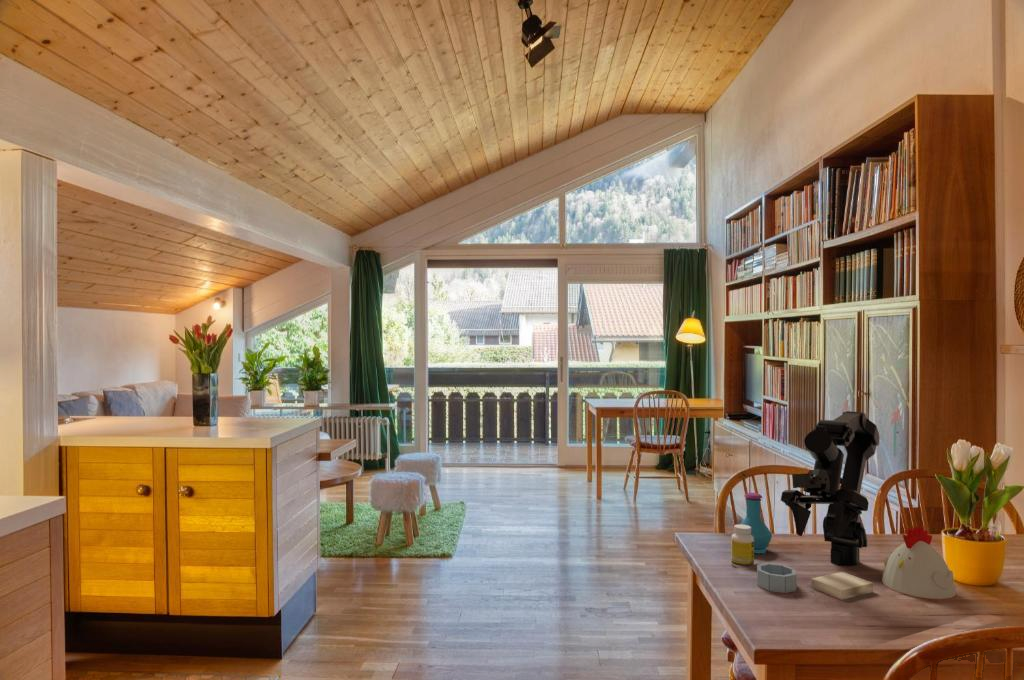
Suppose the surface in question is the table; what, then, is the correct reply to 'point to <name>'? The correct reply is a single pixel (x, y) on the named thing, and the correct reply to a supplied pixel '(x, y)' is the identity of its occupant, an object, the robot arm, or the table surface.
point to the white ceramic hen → (918, 568)
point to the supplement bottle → (742, 546)
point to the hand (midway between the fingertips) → (816, 536)
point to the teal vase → (756, 523)
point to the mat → (855, 596)
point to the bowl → (776, 577)
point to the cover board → (842, 585)
